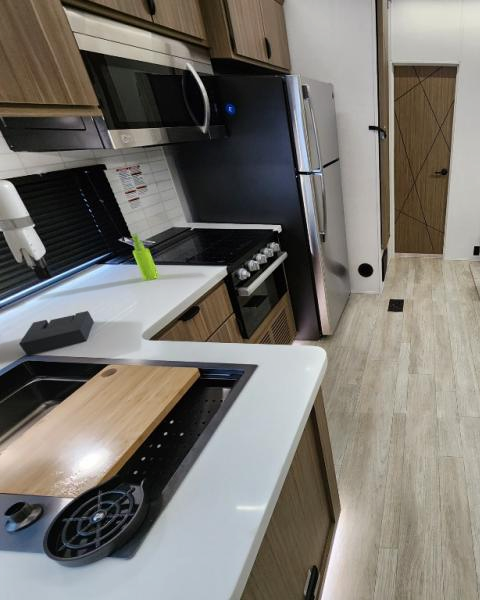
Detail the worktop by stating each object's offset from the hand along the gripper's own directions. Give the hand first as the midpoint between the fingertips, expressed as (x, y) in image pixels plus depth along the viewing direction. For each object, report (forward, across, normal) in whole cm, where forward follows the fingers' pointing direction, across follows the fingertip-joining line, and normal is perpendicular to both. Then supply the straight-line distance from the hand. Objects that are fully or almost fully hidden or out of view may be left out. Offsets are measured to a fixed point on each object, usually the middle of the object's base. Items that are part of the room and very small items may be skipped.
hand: (46, 278), depth 109 cm
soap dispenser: (+17, -30, +23) cm, 42 cm away
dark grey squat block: (+17, +9, +1) cm, 19 cm away
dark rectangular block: (+17, +12, 0) cm, 21 cm away
